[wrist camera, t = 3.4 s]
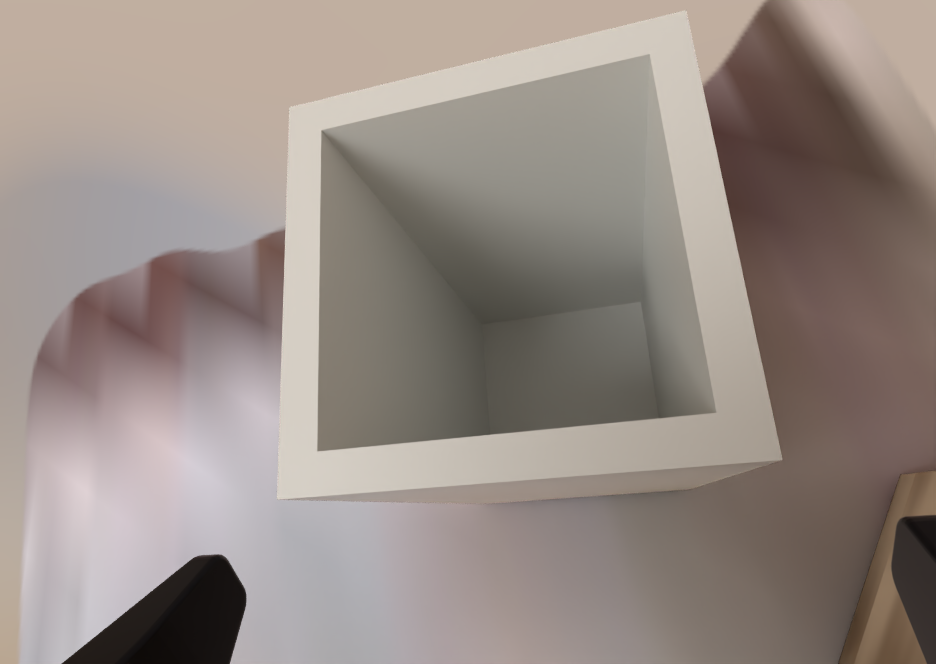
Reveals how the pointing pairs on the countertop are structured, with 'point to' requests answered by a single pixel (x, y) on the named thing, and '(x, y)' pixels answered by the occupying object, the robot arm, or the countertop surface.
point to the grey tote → (517, 284)
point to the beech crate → (889, 587)
